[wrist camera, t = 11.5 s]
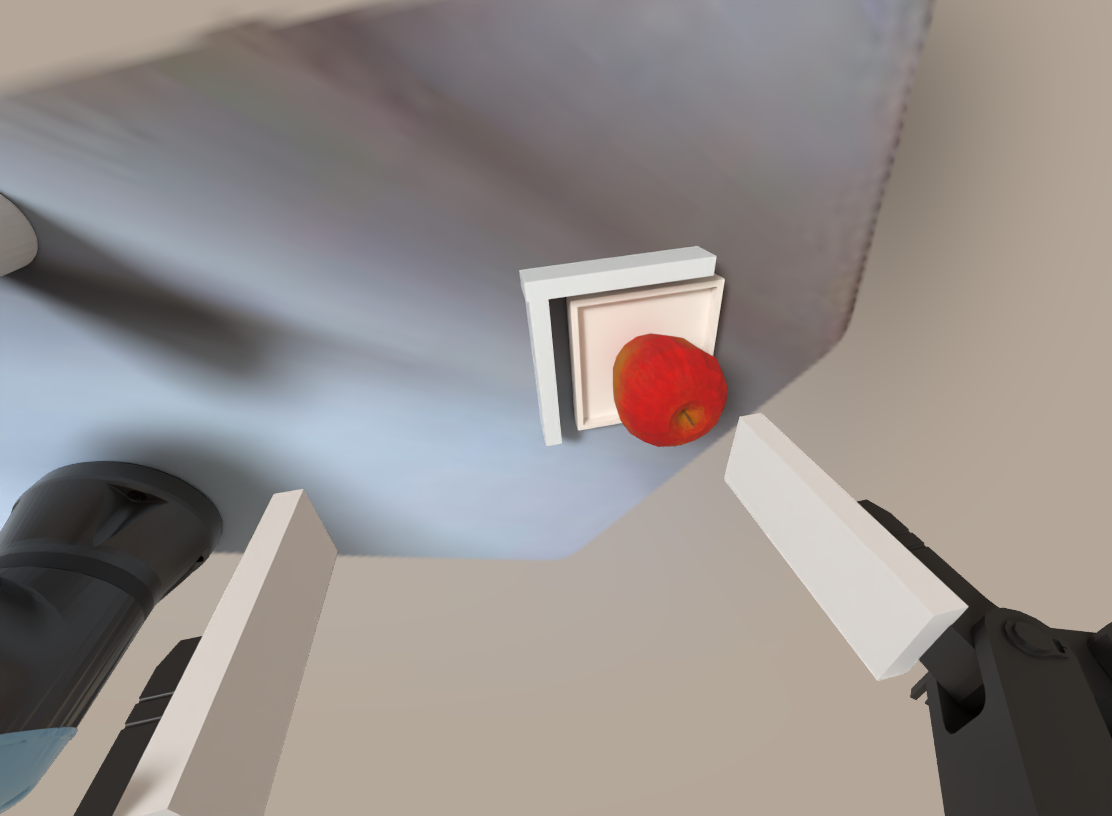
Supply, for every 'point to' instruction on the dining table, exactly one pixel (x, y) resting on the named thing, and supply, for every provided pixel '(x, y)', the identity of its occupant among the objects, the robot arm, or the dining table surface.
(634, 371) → the apple
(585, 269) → the pen walls
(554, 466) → the dining table surface
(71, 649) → the robot arm
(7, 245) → the coffee cup
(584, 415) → the dish
